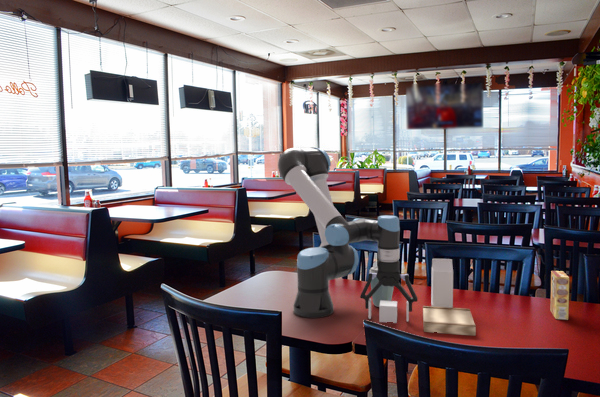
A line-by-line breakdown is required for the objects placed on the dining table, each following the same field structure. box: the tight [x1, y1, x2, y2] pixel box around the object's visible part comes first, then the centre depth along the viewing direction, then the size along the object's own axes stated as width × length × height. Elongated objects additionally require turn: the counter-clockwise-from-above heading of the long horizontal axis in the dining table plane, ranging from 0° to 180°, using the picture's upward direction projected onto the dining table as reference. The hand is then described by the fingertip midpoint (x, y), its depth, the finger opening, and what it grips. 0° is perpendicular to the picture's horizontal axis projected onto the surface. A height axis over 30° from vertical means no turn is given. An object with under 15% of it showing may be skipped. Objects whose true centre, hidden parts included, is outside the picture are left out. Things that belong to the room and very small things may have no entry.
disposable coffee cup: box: [368, 266, 395, 308], centre depth 174 cm, size 11×11×15 cm
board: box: [422, 305, 477, 337], centre depth 153 cm, size 16×16×3 cm
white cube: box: [378, 300, 398, 324], centre depth 159 cm, size 6×6×6 cm
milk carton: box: [430, 258, 454, 308], centre depth 169 cm, size 7×7×19 cm
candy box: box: [550, 270, 570, 321], centre depth 159 cm, size 9×4×15 cm, turn 162°
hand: (388, 319), depth 159 cm, fingers open, 12 cm apart
